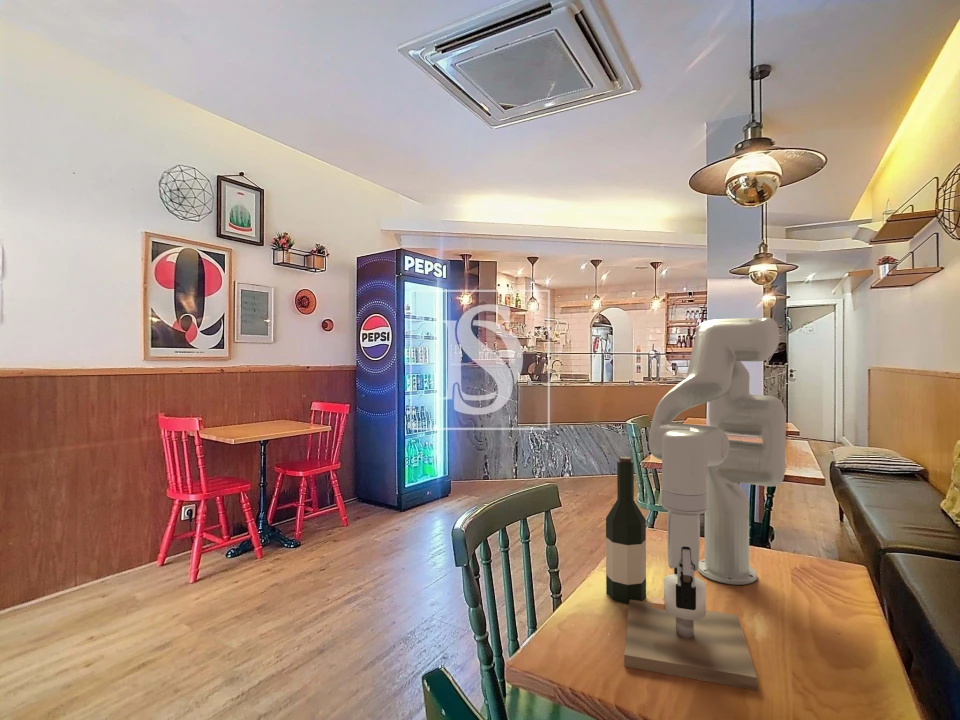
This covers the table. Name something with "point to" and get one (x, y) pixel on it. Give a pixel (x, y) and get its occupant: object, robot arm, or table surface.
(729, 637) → the post board
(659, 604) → the light bulb
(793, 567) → the table surface
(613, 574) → the wine bottle
